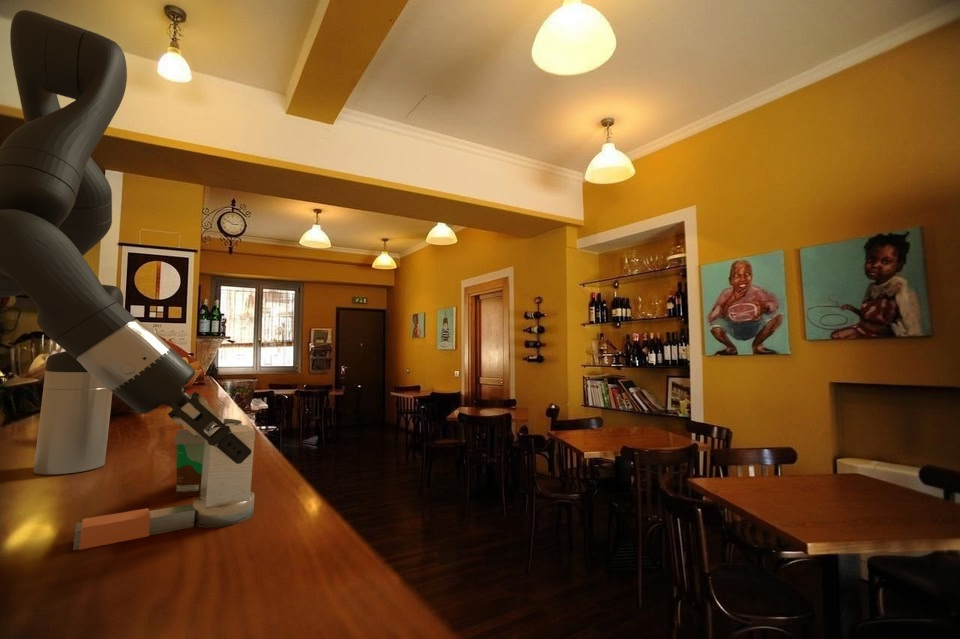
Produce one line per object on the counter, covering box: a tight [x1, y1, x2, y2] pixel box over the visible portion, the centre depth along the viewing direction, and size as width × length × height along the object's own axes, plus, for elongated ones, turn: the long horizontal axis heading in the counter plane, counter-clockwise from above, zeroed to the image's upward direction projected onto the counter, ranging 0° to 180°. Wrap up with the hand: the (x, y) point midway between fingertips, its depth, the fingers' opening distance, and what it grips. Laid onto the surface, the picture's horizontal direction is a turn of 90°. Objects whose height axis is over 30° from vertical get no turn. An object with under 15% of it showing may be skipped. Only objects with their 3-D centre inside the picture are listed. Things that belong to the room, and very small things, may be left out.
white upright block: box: [199, 424, 256, 507], centre depth 57 cm, size 5×5×9 cm
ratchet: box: [72, 491, 256, 551], centre depth 54 cm, size 7×18×6 cm, turn 131°
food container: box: [173, 418, 243, 497], centre depth 69 cm, size 12×6×10 cm, turn 179°
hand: (238, 451), depth 58 cm, fingers open, 8 cm apart
